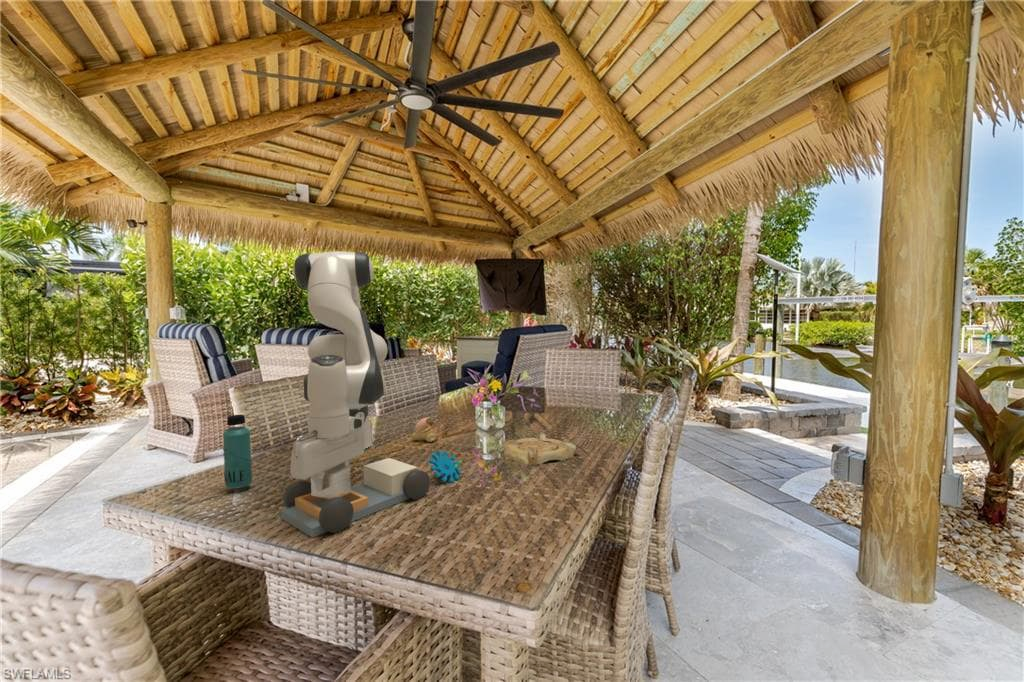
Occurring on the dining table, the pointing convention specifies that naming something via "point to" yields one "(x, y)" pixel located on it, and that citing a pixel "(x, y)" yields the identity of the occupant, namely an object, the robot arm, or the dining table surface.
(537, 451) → the ashtray
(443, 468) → the gear
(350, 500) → the chassis
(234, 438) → the beverage bottle
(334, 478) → the block
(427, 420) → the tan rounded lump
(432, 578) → the dining table surface
